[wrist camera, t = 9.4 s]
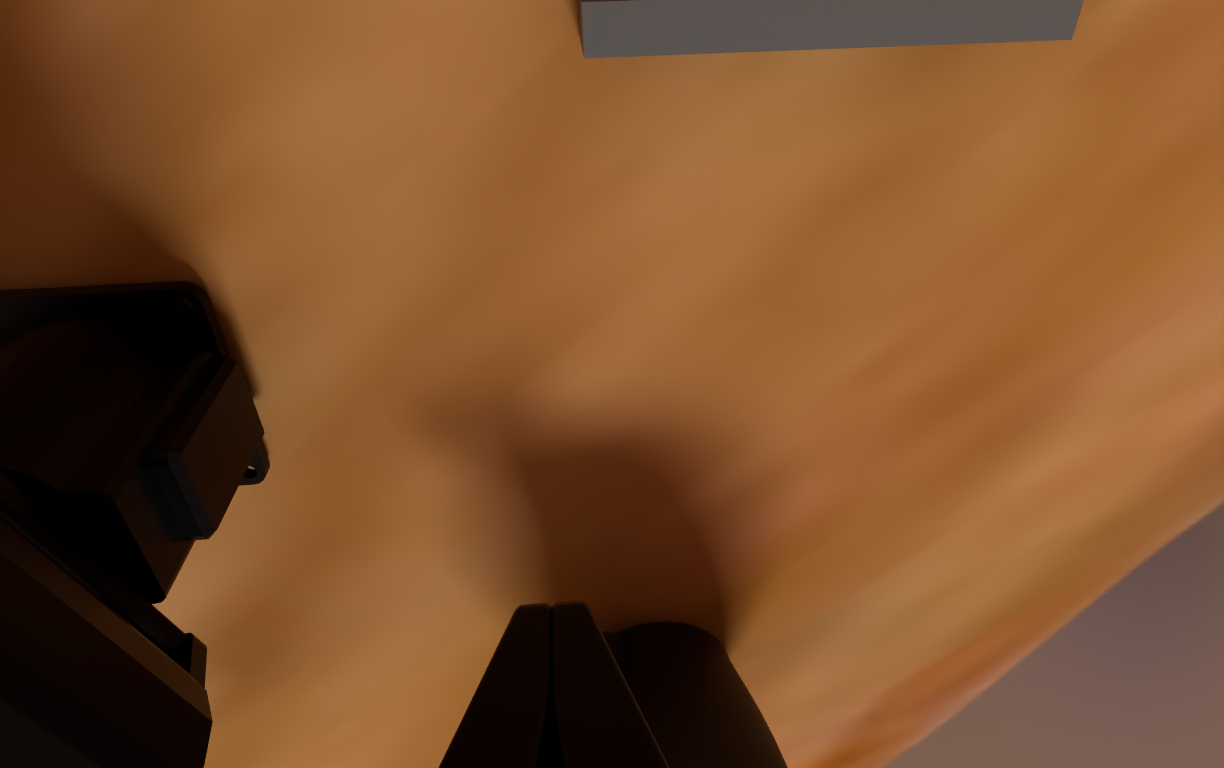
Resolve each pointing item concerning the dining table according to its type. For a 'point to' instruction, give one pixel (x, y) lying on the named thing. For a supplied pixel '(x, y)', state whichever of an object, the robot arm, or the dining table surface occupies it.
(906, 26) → the t socket
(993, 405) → the dining table surface
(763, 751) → the mug
